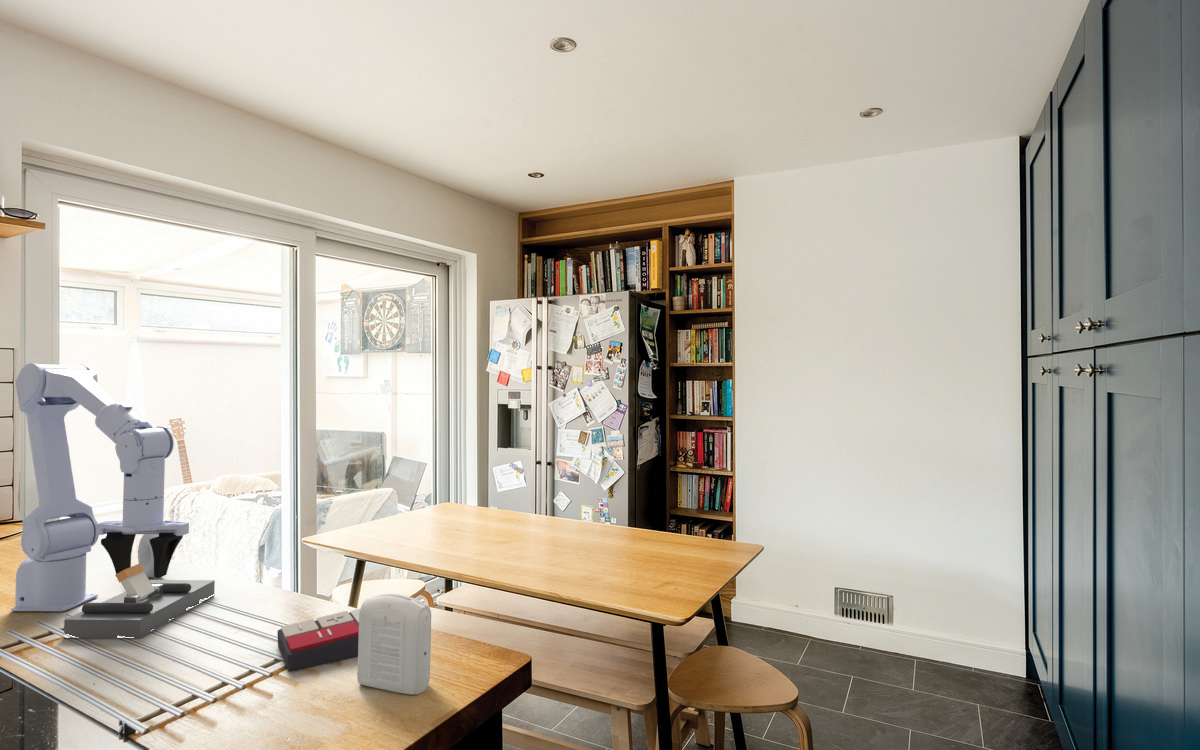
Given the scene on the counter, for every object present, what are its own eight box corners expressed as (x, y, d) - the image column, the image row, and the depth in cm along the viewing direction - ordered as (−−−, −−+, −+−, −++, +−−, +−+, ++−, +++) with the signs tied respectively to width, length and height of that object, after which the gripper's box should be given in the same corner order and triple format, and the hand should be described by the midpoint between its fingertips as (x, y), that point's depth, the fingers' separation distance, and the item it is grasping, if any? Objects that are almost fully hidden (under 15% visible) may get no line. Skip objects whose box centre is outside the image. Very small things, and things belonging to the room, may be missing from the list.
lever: (133, 605, 106) (115, 575, 106) (150, 597, 110) (132, 567, 110) (141, 600, 106) (123, 570, 106) (157, 592, 110) (140, 563, 110)
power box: (63, 638, 100) (64, 607, 100) (150, 595, 120) (151, 569, 120) (140, 638, 100) (140, 607, 100) (214, 595, 120) (214, 569, 120)
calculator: (276, 624, 98) (374, 601, 107) (277, 651, 99) (375, 626, 107) (287, 650, 89) (393, 622, 98) (289, 679, 90) (394, 649, 98)
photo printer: (435, 684, 87) (436, 594, 87) (417, 699, 83) (418, 605, 83) (372, 672, 90) (373, 586, 90) (352, 686, 86) (353, 595, 86)
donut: (173, 579, 129) (174, 531, 130) (154, 584, 127) (155, 534, 127) (153, 571, 135) (154, 524, 135) (134, 574, 132) (135, 527, 132)
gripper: (82, 501, 104) (80, 583, 104) (170, 502, 104) (168, 584, 104) (114, 493, 111) (112, 570, 111) (197, 494, 112) (195, 571, 111)
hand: (141, 576), depth 108 cm, fingers open, 6 cm apart
